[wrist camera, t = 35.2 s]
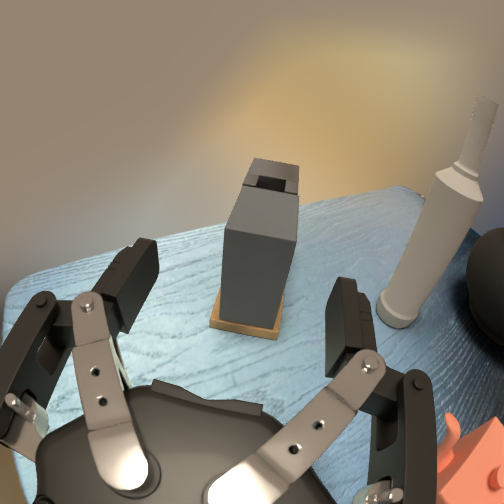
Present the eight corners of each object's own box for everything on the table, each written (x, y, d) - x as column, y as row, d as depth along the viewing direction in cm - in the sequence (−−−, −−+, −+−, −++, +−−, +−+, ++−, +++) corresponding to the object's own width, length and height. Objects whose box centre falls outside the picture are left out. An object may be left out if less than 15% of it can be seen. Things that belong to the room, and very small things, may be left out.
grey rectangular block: (218, 319, 27) (224, 227, 20) (237, 258, 34) (247, 176, 27) (273, 330, 26) (296, 241, 20) (281, 266, 33) (299, 186, 27)
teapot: (425, 588, 6) (496, 587, 1) (341, 486, 16) (399, 464, 11) (501, 499, 11) (564, 469, 6) (432, 409, 21) (487, 362, 16)
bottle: (367, 311, 31) (458, 82, 15) (385, 290, 34) (464, 89, 18) (402, 337, 28) (516, 111, 12) (418, 313, 31) (512, 114, 16)
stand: (209, 327, 27) (212, 227, 20) (239, 235, 39) (248, 154, 32) (276, 340, 27) (305, 245, 20) (287, 244, 39) (305, 165, 32)
